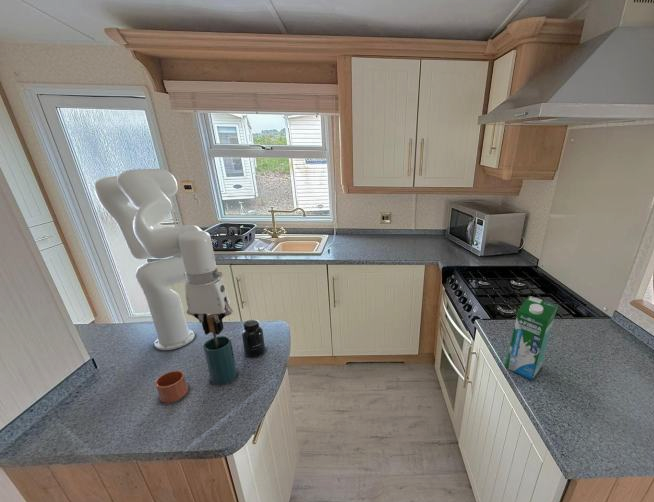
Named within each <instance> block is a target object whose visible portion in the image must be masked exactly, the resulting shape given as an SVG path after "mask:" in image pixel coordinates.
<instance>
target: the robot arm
mask: <svg viewBox="0 0 654 502" xmlns="http://www.w3.org/2000/svg"><path fill="white" fill-rule="evenodd" d="M178 187H179V186H178V182H177V180H176V177H175V176H174V175H173V174H172V173H171V172H169V171H168V170H167V169H164V168H139V169H137V168H136V169H128V170H125V171H123V172H121V173H119V174H118V175H111V176H104V177H101V178H99V179H96V181H95V182H94V184H93V190H94V193H95V196H96V198H97V200H98V202H99V204H100V205H101V207H102V208H103V209H104V210H105V212H107V213H108V214H109V216H110V217H111V218H112V219H113V220H114V221H115V223H116V225H117V227H118V228H119V231H120V233H121V236H122V238H123V239H124V242H125V244H126V247H127V248H128V251H129V252H130V254H131V255H132V257H134V258H135V259H137V260H148V259H156V260H153V261H149V262H146V263H143V264H141V265H139V266H138V267H137V268H136V270H135V278H136V280H137V282H138V284H139V286H140V288H141V290H142V292H143V294H144V297H145V300H146V303H147V305H148V309H149V312H150V316H151V319H152V323H153V326H154V329H155V332H156V335H157V336H156V337H157V338H156V339H155V340H154V343H153V345H154V347H155V349H157V350H159V351H173V350H177V349H180V348H183V347H184V346H187V345H188V344H190V343H191V342H192V341H193V340H194V339H195V336H196V335H195V331H193V330H191V329H189V327H188V323H187V322H188V321H187V319H186V315H185V312H184V306H183V302H182V300H181V299H182V298H181V296H180V294H179V293H178V292H177V291H175V290H173V289H172V288H170V287H172V286H174V285H177V284H181V283H184V282H185V284H184V293H185V302H186V306H187V308H186V309H187V310H186V314H187V315H189V316H192V317H194V318H196V319H197V320H198V322H199V323H200V324H201V326H202V330H203V331H204V335H209V334H210V333H211V332H209V328H208V323H207V319H206V316H207V315H210V314H213V315H214V319H215V323H214V328H215V333H216V336H217V335H220V333H221V332H222V331H223V330H224V323H223V319H224V318H225V317H228V316H230V315H232V314H233V313H234V310H233V309H232V308H231V302H230V297H229V293H228V290H227V287H226V284H225V282H224V280H223V278H222V277H223V272H222V271H219V269H218V268H217V263H216V256H215V252H214V248H213V247H214V245H213V241H212V236H211V235H210V233H209V232H207V231H205V230H202V229H201V228H200V227H199V226H198V225H194V224H186V225H179V226H174V227H173V226H163V227H156V228H154V227H153V226H154V225H156V224H157V223H159V222H161V221H162V220H164V219H166V218H167V217H168V216H169V215H170V214H171V213H172V210H173V203H172V201H171V200H170V198H171V197H174V196H175V195H176V194H177V192H178Z"/></svg>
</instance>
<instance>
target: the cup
mask: <svg viewBox="0 0 654 502" xmlns="http://www.w3.org/2000/svg"><path fill="white" fill-rule="evenodd" d="M217 340H218V345H219V348H220V349H216V346H215V341H214V337H212V338H210V339H208V340H206V341H205V342H204V343H203V345H202V349H203V352H204V358H205V361H206V366H207V370H208V373H209V378H210V381H211V383H212V384H214V385H224V384H227V383H229V382H231V381H233V380H234V379H235V378H236V376H237V375H238V370H237V366H236V361H235V355H234V350H233V344H232V340H231V338H230V337H229V336H225V335H224V336H223V335H221V336H217Z"/></svg>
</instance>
